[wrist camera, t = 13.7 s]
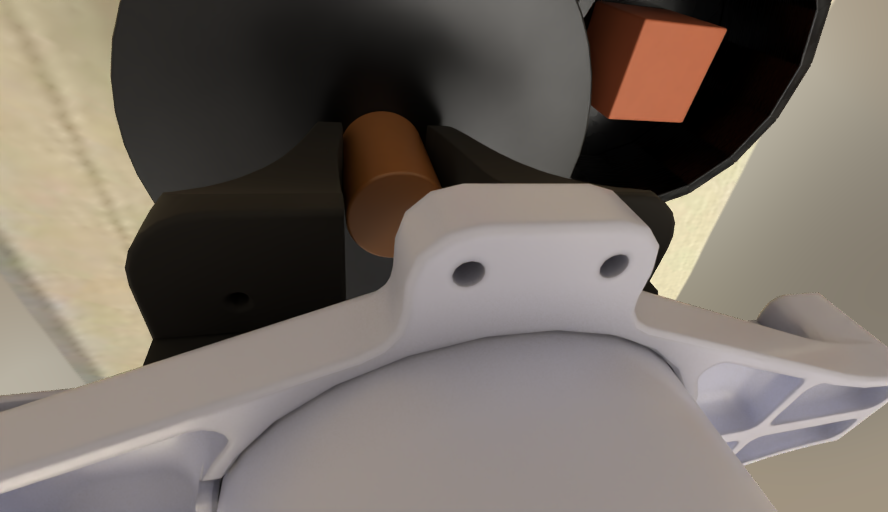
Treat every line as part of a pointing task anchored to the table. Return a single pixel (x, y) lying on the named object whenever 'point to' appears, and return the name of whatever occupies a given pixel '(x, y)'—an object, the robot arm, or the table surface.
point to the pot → (709, 98)
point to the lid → (347, 94)
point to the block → (648, 61)
